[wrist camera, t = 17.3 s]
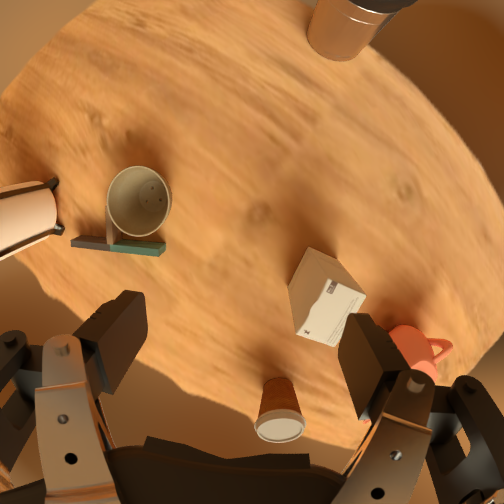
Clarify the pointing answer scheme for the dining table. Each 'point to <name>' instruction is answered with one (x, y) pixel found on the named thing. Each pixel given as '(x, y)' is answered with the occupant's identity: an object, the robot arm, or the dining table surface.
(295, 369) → the dining table surface
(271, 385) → the disposable coffee cup
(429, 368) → the teapot
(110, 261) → the dining table surface
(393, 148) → the dining table surface
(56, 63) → the dining table surface
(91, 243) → the t-shaped slab assembly
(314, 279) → the skincare box
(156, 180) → the flower pot
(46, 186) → the coffee press
